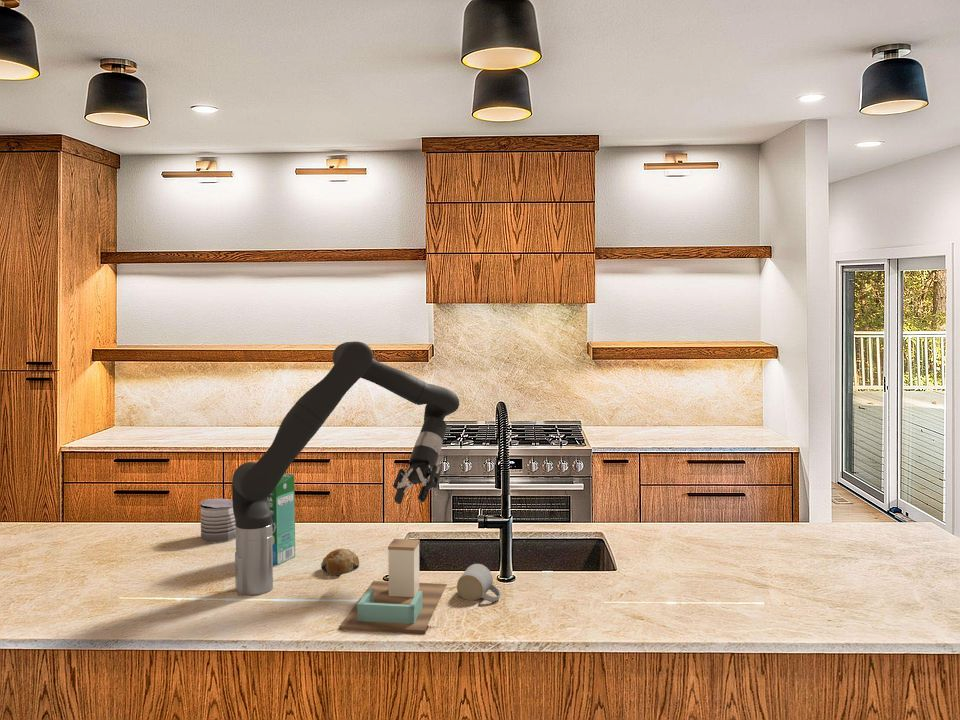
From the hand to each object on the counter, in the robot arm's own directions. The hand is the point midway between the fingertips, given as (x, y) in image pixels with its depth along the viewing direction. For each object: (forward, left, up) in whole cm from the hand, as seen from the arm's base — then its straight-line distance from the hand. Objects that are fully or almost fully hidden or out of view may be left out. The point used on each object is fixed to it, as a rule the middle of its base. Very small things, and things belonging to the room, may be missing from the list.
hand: (409, 501), depth 208 cm
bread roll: (-16, +14, -22) cm, 30 cm away
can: (-45, +60, -22) cm, 78 cm away
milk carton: (-32, +31, -22) cm, 50 cm away
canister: (-5, -11, -21) cm, 24 cm away
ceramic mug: (+12, -20, -22) cm, 32 cm away
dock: (-12, -23, -21) cm, 34 cm away
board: (-9, -18, -21) cm, 29 cm away
